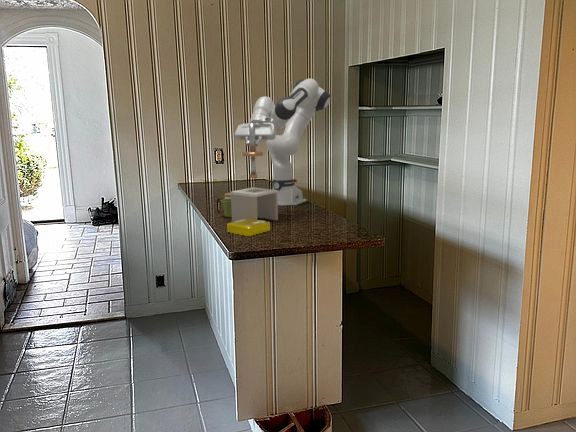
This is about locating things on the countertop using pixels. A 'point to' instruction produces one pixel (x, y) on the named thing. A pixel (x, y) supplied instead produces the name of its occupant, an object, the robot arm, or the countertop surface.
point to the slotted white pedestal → (254, 204)
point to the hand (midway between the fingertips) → (252, 145)
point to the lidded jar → (227, 195)
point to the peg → (252, 151)
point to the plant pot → (227, 207)
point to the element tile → (248, 227)
